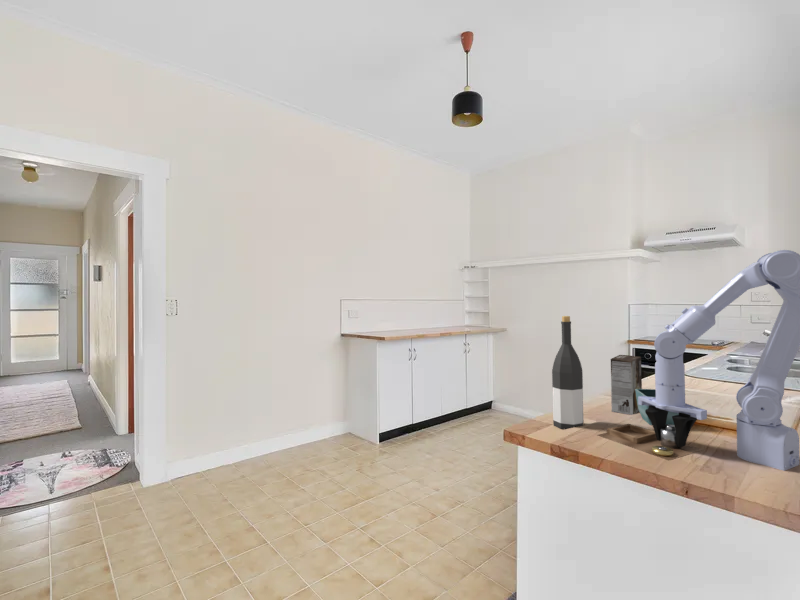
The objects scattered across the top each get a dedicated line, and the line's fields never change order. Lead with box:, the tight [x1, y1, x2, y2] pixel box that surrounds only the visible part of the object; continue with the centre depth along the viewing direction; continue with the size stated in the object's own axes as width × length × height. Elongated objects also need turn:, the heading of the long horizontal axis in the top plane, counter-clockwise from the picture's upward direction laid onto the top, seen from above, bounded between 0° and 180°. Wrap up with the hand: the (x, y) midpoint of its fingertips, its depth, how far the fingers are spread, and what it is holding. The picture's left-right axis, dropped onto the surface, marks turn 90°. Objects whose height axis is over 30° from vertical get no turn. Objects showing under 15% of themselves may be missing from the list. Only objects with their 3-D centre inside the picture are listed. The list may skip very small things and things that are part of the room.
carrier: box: [597, 423, 704, 461], centre depth 100 cm, size 18×12×2 cm, turn 25°
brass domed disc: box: [652, 446, 673, 457], centre depth 93 cm, size 4×4×1 cm
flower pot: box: [635, 388, 679, 426], centre depth 114 cm, size 9×9×9 cm
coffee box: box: [610, 354, 643, 416], centre depth 129 cm, size 9×6×16 cm
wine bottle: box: [551, 315, 585, 430], centre depth 116 cm, size 8×8×30 cm
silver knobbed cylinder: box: [661, 424, 681, 449], centre depth 97 cm, size 4×4×5 cm
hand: (670, 442), depth 97 cm, fingers closed on silver knobbed cylinder, 4 cm apart
